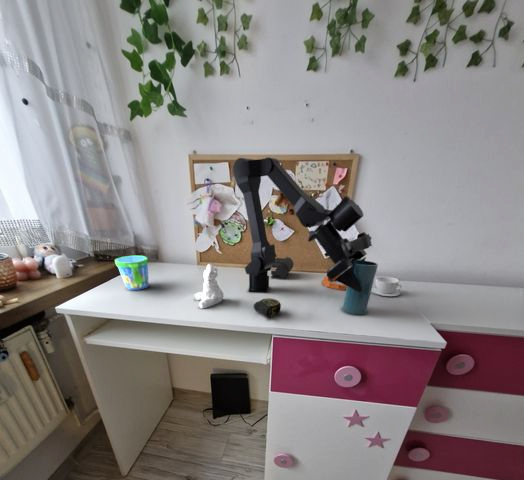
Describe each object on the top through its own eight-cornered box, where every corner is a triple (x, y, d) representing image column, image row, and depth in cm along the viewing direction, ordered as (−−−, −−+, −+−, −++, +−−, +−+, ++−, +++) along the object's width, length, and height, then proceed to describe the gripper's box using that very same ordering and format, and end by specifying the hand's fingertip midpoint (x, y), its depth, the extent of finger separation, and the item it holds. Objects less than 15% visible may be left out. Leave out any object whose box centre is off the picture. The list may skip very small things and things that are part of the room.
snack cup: (155, 292, 95) (148, 262, 90) (122, 296, 92) (113, 265, 86) (151, 279, 107) (146, 253, 102) (122, 282, 104) (115, 255, 98)
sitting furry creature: (194, 298, 90) (189, 261, 84) (219, 295, 93) (217, 259, 87) (200, 309, 83) (196, 269, 76) (227, 305, 86) (225, 266, 79)
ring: (325, 289, 100) (325, 284, 99) (321, 278, 111) (322, 274, 110) (363, 290, 99) (363, 286, 98) (355, 279, 110) (356, 275, 109)
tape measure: (252, 312, 81) (252, 300, 79) (271, 307, 84) (271, 296, 82) (265, 320, 76) (266, 308, 74) (285, 315, 79) (285, 303, 77)
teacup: (364, 292, 97) (367, 279, 94) (376, 286, 103) (379, 273, 101) (393, 299, 91) (397, 286, 88) (403, 292, 97) (407, 279, 95)
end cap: (287, 280, 108) (288, 262, 105) (270, 278, 110) (271, 261, 107) (293, 273, 116) (294, 257, 113) (277, 272, 118) (277, 256, 115)
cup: (344, 313, 80) (354, 264, 73) (341, 305, 86) (350, 259, 79) (368, 315, 79) (380, 266, 73) (363, 307, 85) (374, 261, 78)
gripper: (344, 226, 65) (382, 279, 66) (365, 219, 79) (396, 263, 79) (311, 256, 73) (345, 303, 74) (335, 245, 86) (364, 285, 87)
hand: (364, 287), depth 78 cm, fingers closed on cup, 7 cm apart
